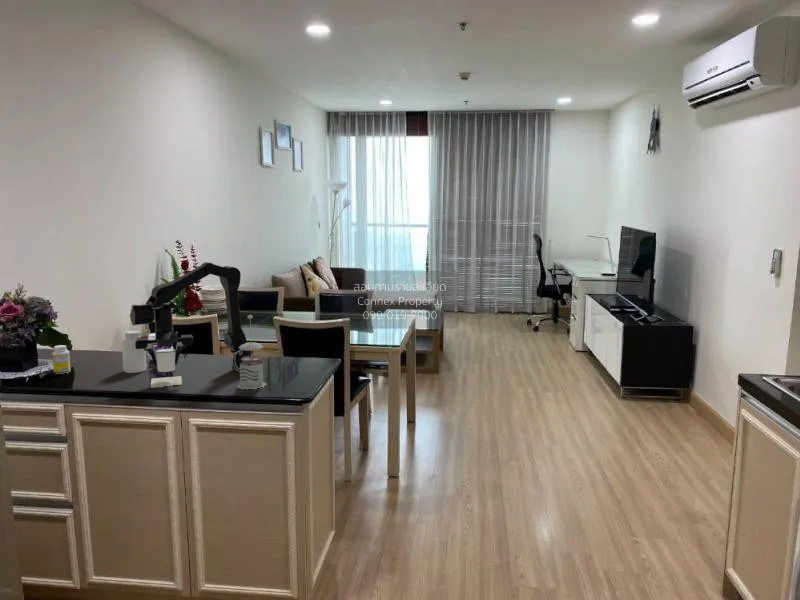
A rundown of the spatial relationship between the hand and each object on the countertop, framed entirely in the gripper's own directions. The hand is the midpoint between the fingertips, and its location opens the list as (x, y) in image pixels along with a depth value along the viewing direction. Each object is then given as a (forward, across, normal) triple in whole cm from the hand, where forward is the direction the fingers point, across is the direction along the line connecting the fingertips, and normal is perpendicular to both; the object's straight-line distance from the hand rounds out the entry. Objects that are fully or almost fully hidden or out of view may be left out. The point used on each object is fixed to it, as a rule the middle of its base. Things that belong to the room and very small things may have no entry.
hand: (166, 365), depth 212 cm
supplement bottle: (+6, -36, +26) cm, 45 cm away
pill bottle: (+6, -11, +21) cm, 25 cm away
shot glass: (+2, 0, 0) cm, 2 cm away
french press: (+6, +27, -13) cm, 31 cm away
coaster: (+6, 0, 0) cm, 6 cm away
